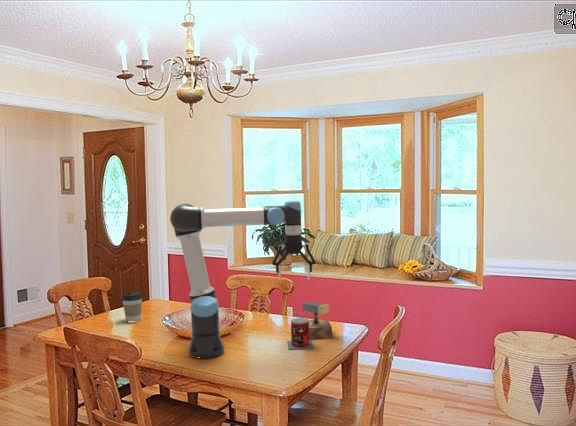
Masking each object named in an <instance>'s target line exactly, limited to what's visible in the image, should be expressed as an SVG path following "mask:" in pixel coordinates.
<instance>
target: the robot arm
mask: <svg viewBox="0 0 576 426" xmlns="http://www.w3.org/2000/svg"><path fill="white" fill-rule="evenodd" d="M169 220H170V221H169V222H170V223H171V226H172V227H173V230H174V235H175V237H176V238H177V239H179V240H180V245H181V250H182V254H183V259H184V262H185V267H186V270H187V271H186V272H187V275H188V280H189V286H190V292H189V294H188V295H189V301H190V314H191V315H190V317H191V318H190V319H191V320H190V321H191V338H190V343H189V346H188V355H189V354H190V355H191V356H194V357H200V358H206V359H211V358H210V357H213V358H216V357H215V356H217V357H219V356H222V355H223V354H224V352H225V345H224V343H223V340H222V338H221V334H220V314H219V311H220V310H219V309H220V308H219V307H220V306H219V305H220V304H219V301H218V299H217V294H216V291H215V288H214V287H213V286H211V283H210V279H209V275H208V274H209V273H208V270H207V264H206V260H205V256H204V251H203V248H202V243H201V238H200V234H201V232H202V231H203V230H204V229H205V228H212V227H213V228H214V227H215V228H216V227H218V228H219V227H237V226H239V227H240V226H243V227H244V226H262V225H264V226H266V225H267V226H269V225H271V226H272V225H273V226H279V225H280V224H282V223H284V230H285V231H284V233H285V235H284V236H285V239H284V240H285V244H284V245H283V244H278V250H277V252H276V253H275V256H274V258H273V260H272V262H271V264H272V265H273V266H275V270H276V271H275V273H276V274H278V281H281V276H282V275H281V263H282V262H283V261H284V260H285V259H286V258H287V256H288V255H298V254H299V255H300V256H301V257H302V258H303V259H304V261H305V262H306V263H307V279H308V281H309V280H311V279H310V278H311V277H310V276H311V273H313V266H314V265H315V264H316V263H317V262H316V260H315V258H314V256H313V255H312V253H311V251H310V248H309V247H310V246H309V244H308V243H306V244H303V243H302V240H303V239H302V206H301V202H300V201H299V200H287V201H284V204H283V205H261V206H259V207H241V208H240V207H239V208H238V207H237V208H209V209H208V208H207V209H205V208H204V207H203V206H200V207H199V206H193V205H192V204H190V203H181V204H178V205H177V206H175V207H174V209H173V210H172V211H171V212H170V217H169ZM284 249H285V250H286V251H285V252H284V253H283V255H282V256H281V257H280V258H279V256H280V254H281V252H282V251H283V250H284ZM302 249H304V250H305V251H306V252H307V254H308V256H309V257H310V259H309V258H308V257H307V256H306V255H305V253H303V251H302ZM278 258H279V260H278ZM277 260H278V261H277ZM222 353H223V354H222ZM218 355H219V356H218ZM191 356H190V357H191Z"/></svg>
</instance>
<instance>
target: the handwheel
mask: <svg viewBox="0 0 576 426" xmlns="http://www.w3.org/2000/svg"><path fill="white" fill-rule="evenodd" d="M302 311H303V312H308V313H313V320H314V323H318V320H319V315H320V316H321V315H325V314H328V313H330V304H327V303H326V304H325V303H320V302H315V301H310V300H309V301H307V302H303V303H302Z"/></svg>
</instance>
